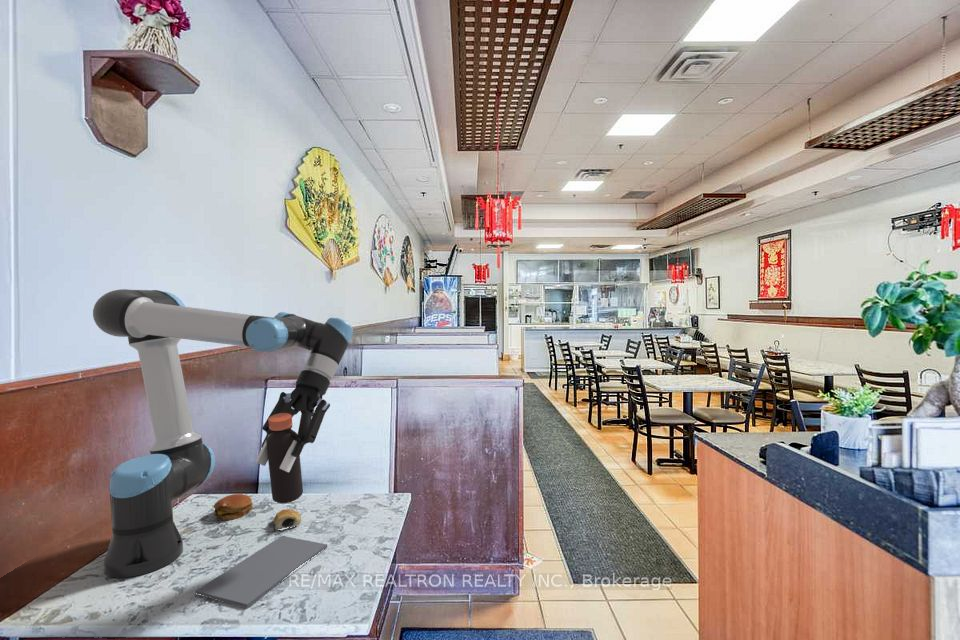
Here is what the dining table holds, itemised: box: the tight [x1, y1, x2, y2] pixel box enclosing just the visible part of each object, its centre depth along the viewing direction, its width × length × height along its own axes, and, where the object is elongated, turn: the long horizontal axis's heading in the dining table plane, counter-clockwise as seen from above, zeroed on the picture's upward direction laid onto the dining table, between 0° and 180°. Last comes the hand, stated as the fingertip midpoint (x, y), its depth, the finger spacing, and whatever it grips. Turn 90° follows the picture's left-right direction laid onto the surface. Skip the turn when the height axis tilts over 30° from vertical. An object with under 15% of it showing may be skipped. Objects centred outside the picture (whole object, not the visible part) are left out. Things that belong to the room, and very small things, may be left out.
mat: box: [195, 535, 328, 609], centre depth 105 cm, size 14×24×1 cm, turn 160°
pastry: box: [273, 509, 302, 531], centre depth 128 cm, size 9×7×4 cm
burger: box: [213, 493, 254, 521], centre depth 134 cm, size 10×9×5 cm
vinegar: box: [266, 413, 304, 504], centre depth 108 cm, size 7×7×20 cm
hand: (272, 466), depth 105 cm, fingers closed on vinegar, 6 cm apart
